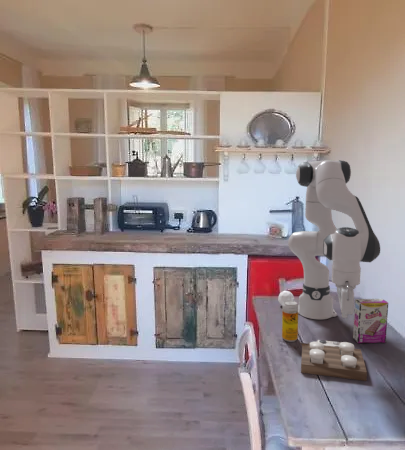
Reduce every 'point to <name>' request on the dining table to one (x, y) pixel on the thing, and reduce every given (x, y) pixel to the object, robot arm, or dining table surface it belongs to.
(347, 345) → the button
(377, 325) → the candy bar box
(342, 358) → the button
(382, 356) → the dining table surface
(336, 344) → the pattern plaque
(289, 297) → the geometric ball
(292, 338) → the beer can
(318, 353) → the button
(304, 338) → the dining table surface
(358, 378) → the button board
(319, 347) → the button
